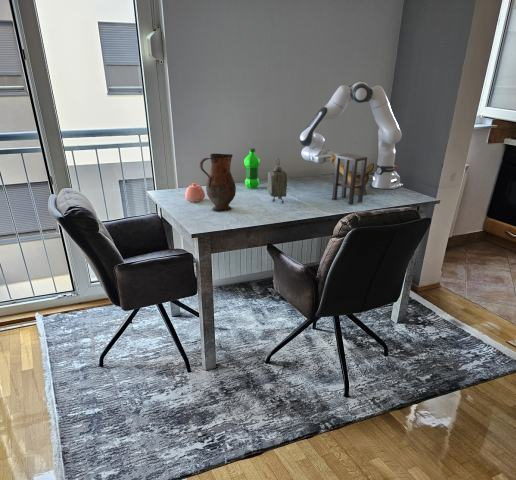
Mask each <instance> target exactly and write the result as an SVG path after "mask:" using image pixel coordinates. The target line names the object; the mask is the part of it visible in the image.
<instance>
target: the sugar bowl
mask: <svg viewBox="0 0 516 480" xmlns="http://www.w3.org/2000/svg"><path fill="white" fill-rule="evenodd" d="M184 197H185V199H186V200H187V201H189V202H193V203H197V202H203V200H204V199H205V198H206V193H205V190H204V188H203V187H202V186H201V185H200V184H197V183H196V182H193V183H192V184H190V185H188V186H187V188H186V190H185V193H184Z"/></svg>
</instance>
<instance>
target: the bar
mask: <svg viewBox="0 0 516 480" xmlns="http://www.w3.org/2000/svg"><path fill="white" fill-rule="evenodd" d="M329 158H333V161H332V162H331V163H332V164H333V165H334V166H335V161H336V156H335V155H334V154H333V155H330V157H329ZM339 173H340V174H341V175H342V176H343V174H344V164H343V163H342V161H340V168H339ZM351 175H352V172H350V171H349V170H348V180H347V183H351Z"/></svg>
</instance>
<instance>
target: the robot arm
mask: <svg viewBox="0 0 516 480" xmlns="http://www.w3.org/2000/svg"><path fill="white" fill-rule="evenodd" d="M351 101H354V102H355V103H360V104H363V103H366V102H367V103H368V105H369V106H370V109H371V112H372V115H373V118H374V121H375V123H376V125H377V126H378V130H377V135H378V136H377V137H378V152H377V153H378V155H377V163H376V165H375V172H374V175H373V177H372V182H371V186H372V187H373V188H376V189H382V190H383V189H384V190H395V189H398V188H401V187H403V186H404V184H403V183H402V182H401V177H400V175H399V174H398V173H397V171H396V170H397V169H398V168H399V165H397V164H395V160H396V144H398V143H399V142H400V141H401V140H402V137H403V133H402V129H400V125H399V124H398V122H397V119H396V117H395V116H394V113H393V110H392V108H391V104H390V101H389V99H388V96H387V93H386V92H385V90H384V88H383V87H382V85H374V86H372V87H370V86H369V85H368V84H367V83H366V82H365V81H364V80H358V81H355V82H354V83H352V84H351V85H349V86H348V85H345V84H342V85H340V86H339V87H337V89H336V90H335V92H333V94H332V96H331V98H330V99H329V101H328V102H327V103H326V104H325V105H324V106H322V107H321V108H320V109H319V110H318V111H317V113H315V115H314V117H313V118H312V119H311V121H310V122H309V123H308V125H307V126H306V127H305V128H304V129H303V130H302V131H301V132H300V133H299V142H300V144H301V146H303V148H302V150H301V153H300V154H301V157H302V159H303V160H305V161H307V162H310V163H315V164H319V165H323V164H324V163H328V162H330V163H332V161H333V158H329V157H330V155H333V154H334V155H335V156H336V155H340V153H339V152H335V151H332V150H329V149H324V146H325V137H324V135H323V134H320V133H317V132H316V131H317V129H318V128H319V127H320V125H321V124H322V123H323V122H324V121H326V120H335V119H338V118H340V117H341V116H342V114H343V113H344V111H345V110H346V108H347V106H348V105H349V104H350V102H351Z"/></svg>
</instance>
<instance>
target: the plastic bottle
mask: <svg viewBox="0 0 516 480" xmlns="http://www.w3.org/2000/svg"><path fill="white" fill-rule="evenodd" d="M248 152H249V154H248V155H247V156H246V157H245V158H244V159H243V164H244V166H245V180H244V184H245V186H246V187H247V188H248V189H249V190H254V189H257V188H258V187H259V186H260V179H259V167H260V164H261V159H260V158H259V156H258V155H256V154H255V152H256V148H255V147H250V148H248Z"/></svg>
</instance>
